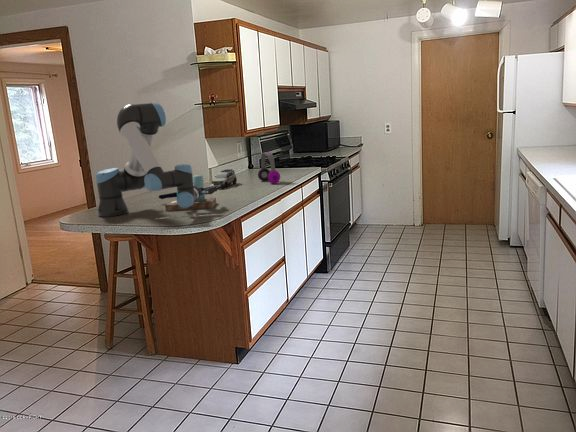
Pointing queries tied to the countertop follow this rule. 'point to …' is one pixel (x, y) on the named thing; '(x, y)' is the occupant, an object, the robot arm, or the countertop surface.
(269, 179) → the headphones
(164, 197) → the toy
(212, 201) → the pocket block
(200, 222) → the countertop surface
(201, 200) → the peg
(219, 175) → the toy car
